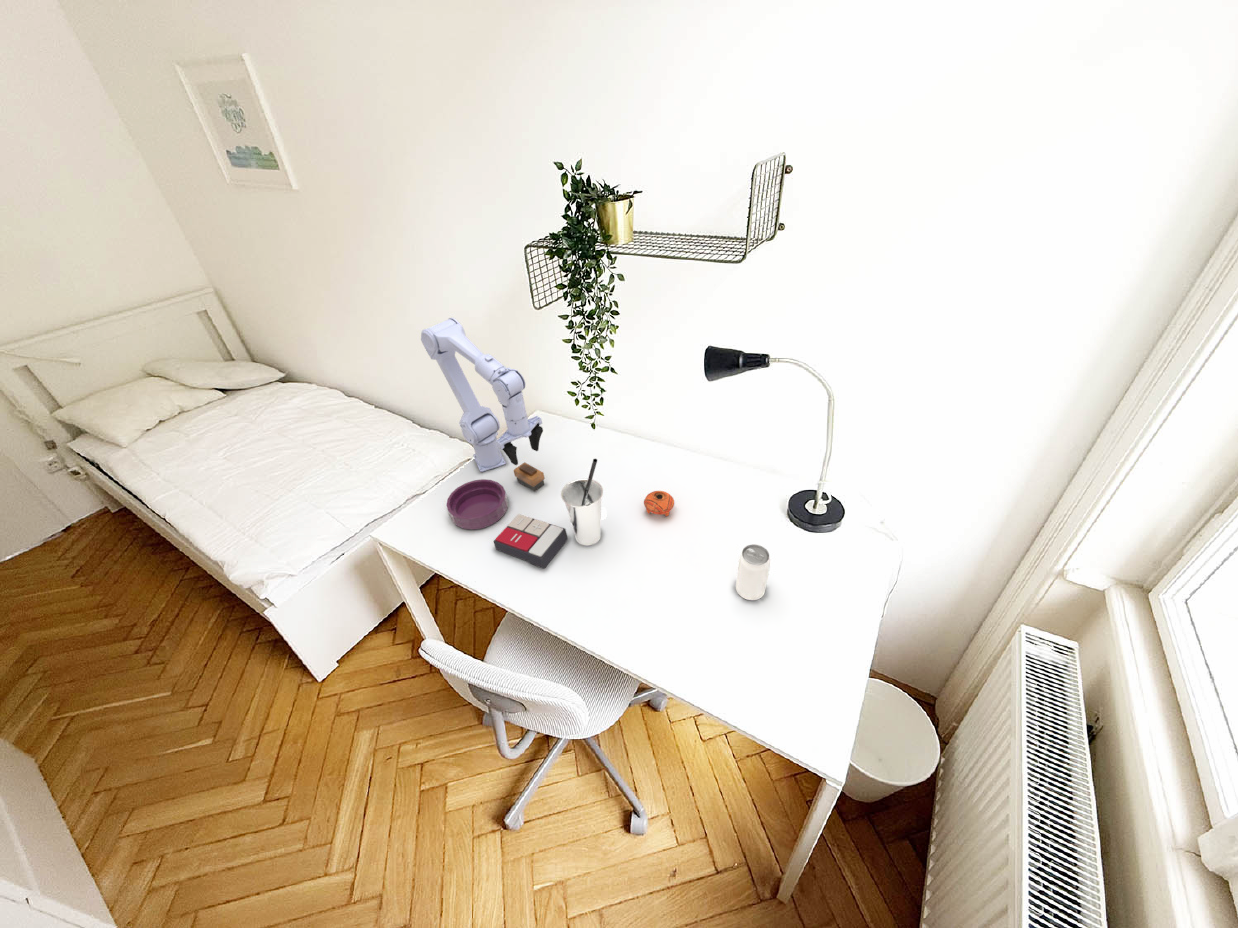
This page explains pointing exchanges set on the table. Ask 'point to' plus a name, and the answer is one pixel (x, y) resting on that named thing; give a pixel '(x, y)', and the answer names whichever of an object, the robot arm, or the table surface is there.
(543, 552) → the calculator
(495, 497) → the bowl
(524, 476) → the scrub brush
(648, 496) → the pot
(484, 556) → the table surface
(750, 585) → the can
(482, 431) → the robot arm
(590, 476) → the metal cup with straw
